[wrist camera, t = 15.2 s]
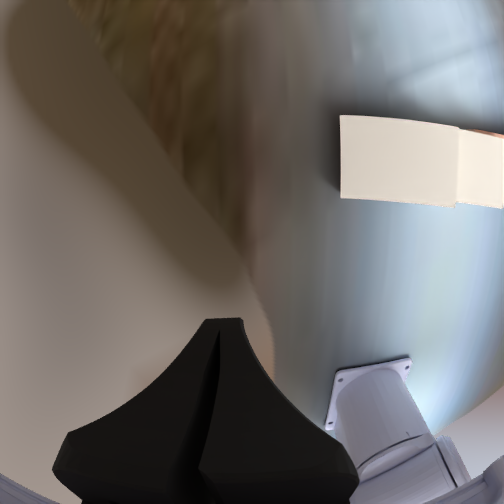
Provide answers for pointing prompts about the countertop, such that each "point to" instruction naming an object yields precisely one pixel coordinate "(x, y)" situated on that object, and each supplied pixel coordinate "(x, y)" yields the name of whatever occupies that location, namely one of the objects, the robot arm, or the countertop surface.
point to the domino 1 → (399, 160)
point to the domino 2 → (480, 169)
